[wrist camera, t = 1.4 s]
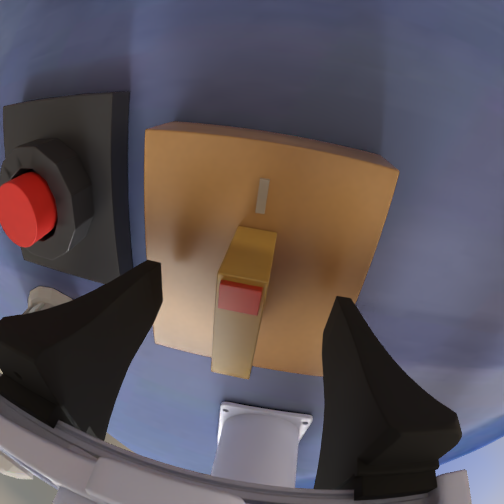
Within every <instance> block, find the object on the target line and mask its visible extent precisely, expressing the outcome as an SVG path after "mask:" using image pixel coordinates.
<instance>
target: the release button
mask: <svg viewBox="0 0 504 504" xmlns="http://www.w3.org/2000/svg"><path fill="white" fill-rule="evenodd" d="M56 221H57V209H56V201H55V198H54V196H53V194H52V192H51V190H50V188H49V186H48V183H47V181H46V180H45V179H44V178H43V177H41V176H40V175H39V174H37V173H35V172H26V173H24V174H22V175H20V176H18V177H16V178H14V179H12V180H10V181H8V182H6V183H4V184H3V185H2V186H1V187H0V223H1V226H2V228H3V230H4V231H5V233H6V234H7V236H8V237H9V238H10V239H11V240H12V241H13V242H14V243H15V244H17V245H18V246H21V247H30V246H32V245H33V244H34V243H36V242H37V241H38V240H39V239H41V238H42V237H43V236H45V235H46V234H47V233H49V232H50V231H51V230H52V229H53V228H54V226H55V224H56Z"/></svg>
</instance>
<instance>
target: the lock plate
mask: <svg viewBox="0 0 504 504" xmlns="http://www.w3.org/2000/svg"><path fill="white" fill-rule="evenodd" d="M398 176H399V170H398V169H397V168H395V167H394V166H393V165H392V164H391V163H389V162H388V161H387V160H386V159H384V158H383V157H382V156H381V155H378V154H374V153H371V152H367V151H363V150H359V149H354V148H350V147H346V146H342V145H337V144H333V143H328V142H323V141H319V140H314V139H308V138H303V137H298V136H292V135H287V134H281V133H275V132H268V131H262V130H255V129H248V128H240V127H232V126H223V125H214V124H203V123H192V122H178V121H173V122H169V123H165V124H162V125H158V126H155V127H152V128H148V129H146V130H145V151H144V211H145V239H146V257H147V260H151V261H156V262H160V263H161V273H162V291H163V302H162V305H161V307H160V310H159V312H158V315H157V317H156V319H155V321H154V323H153V332H154V339H155V343H156V344H159V345H163V346H166V347H170V348H174V349H178V350H182V351H186V352H190V353H194V354H198V355H202V356H207V357H211V358H212V342H213V326H214V310H215V296H216V282H217V272H218V270H219V268H220V266H221V263H222V261H223V259H224V256H225V254H226V252H227V250H228V247H229V245H230V243H231V241H232V238H233V236H234V234H235V232H236V229H237V227H238V226H242V227H248V228H253V229H259V230H265V231H270V232H276V233H277V238H276V244H275V250H274V256H273V262H272V268H271V274H270V280H269V285H268V290H267V295H266V300H265V305H264V310H263V315H262V320H261V325H260V330H259V335H258V340H257V345H256V349H255V354H254V359H253V364H252V366H255V367H261V368H266V369H272V370H278V371H284V372H291V373H298V374H305V375H312V376H320V377H322V376H323V366H322V339H323V331H324V328H325V325H326V323H327V320H328V318H329V315H330V312H331V309H332V307H333V304H334V301H335V298H336V296H341V297H347V298H351V299H352V301H353V302H354V304H355V303H356V301H357V298H358V296H359V293H360V291H361V288H362V286H363V283H364V280H365V278H366V275H367V272H368V270H369V267H370V264H371V262H372V259H373V256H374V253H375V250H376V247H377V244H378V241H379V239H380V236H381V233H382V229H383V226H384V223H385V220H386V217H387V214H388V210H389V207H390V204H391V200H392V197H393V194H394V190H395V187H396V183H397V179H398Z"/></svg>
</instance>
